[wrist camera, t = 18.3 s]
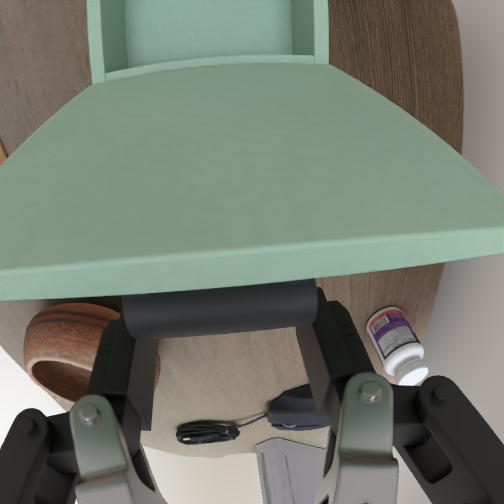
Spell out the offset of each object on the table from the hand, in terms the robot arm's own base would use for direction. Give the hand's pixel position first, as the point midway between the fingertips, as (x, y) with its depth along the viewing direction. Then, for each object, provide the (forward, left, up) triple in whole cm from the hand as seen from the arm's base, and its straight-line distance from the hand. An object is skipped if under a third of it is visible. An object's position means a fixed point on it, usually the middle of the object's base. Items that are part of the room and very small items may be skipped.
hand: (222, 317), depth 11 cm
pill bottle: (+26, +13, -18) cm, 34 cm away
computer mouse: (+41, -8, -18) cm, 46 cm away
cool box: (-14, +4, -17) cm, 22 cm away
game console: (+67, -5, -18) cm, 70 cm away
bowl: (+13, -20, -18) cm, 30 cm away
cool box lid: (-6, +2, -3) cm, 7 cm away
